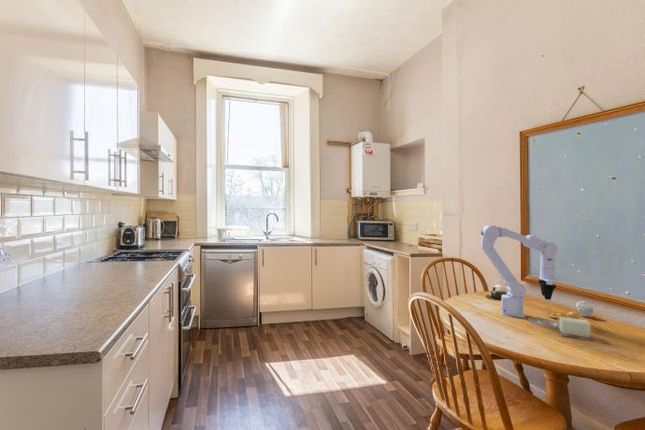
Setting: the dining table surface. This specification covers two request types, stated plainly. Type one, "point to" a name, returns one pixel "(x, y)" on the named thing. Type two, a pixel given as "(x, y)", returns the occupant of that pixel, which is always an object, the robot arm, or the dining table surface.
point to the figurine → (570, 315)
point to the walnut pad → (574, 336)
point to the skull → (497, 293)
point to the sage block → (574, 326)
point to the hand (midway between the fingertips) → (546, 297)
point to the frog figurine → (584, 309)
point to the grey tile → (543, 322)
